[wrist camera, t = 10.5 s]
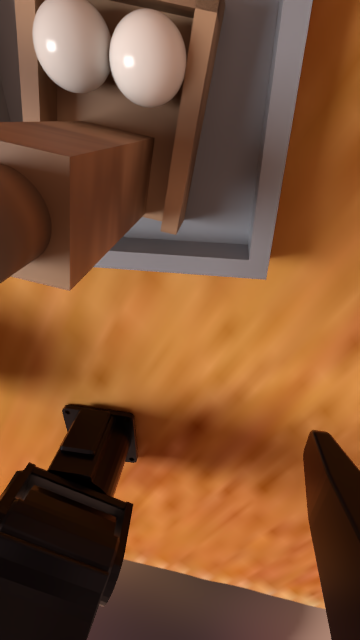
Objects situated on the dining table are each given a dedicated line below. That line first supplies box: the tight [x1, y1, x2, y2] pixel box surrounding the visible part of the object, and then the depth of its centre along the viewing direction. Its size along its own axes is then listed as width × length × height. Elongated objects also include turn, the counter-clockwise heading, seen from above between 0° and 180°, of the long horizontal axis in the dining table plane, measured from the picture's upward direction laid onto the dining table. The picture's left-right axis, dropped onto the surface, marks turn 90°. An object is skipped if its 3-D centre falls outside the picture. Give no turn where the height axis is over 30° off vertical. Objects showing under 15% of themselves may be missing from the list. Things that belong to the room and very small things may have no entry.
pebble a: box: [109, 8, 187, 108], centre depth 13 cm, size 3×3×3 cm
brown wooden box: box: [0, 0, 225, 291], centre depth 11 cm, size 9×8×12 cm
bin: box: [0, 0, 313, 280], centre depth 15 cm, size 17×15×3 cm
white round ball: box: [32, 0, 111, 93], centre depth 13 cm, size 3×3×3 cm
